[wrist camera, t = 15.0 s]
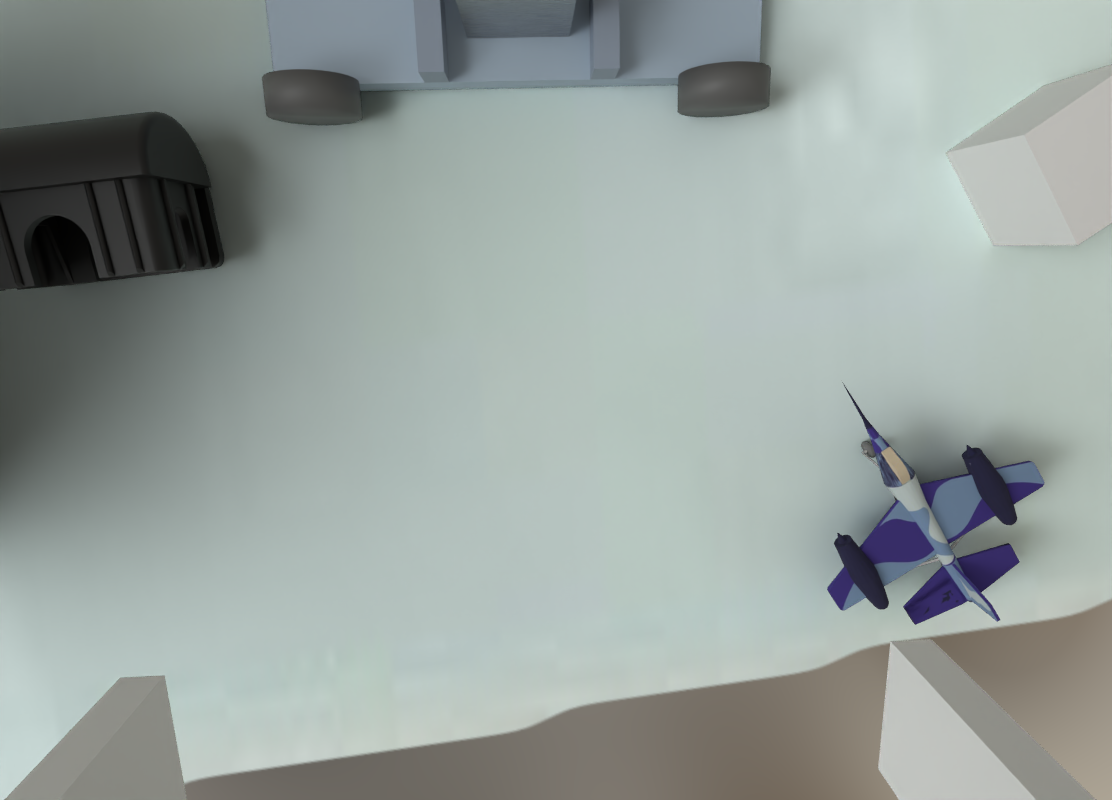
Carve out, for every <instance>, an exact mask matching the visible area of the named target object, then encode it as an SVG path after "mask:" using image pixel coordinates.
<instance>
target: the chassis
mask: <svg viewBox="0 0 1112 800" xmlns="http://www.w3.org/2000/svg"><path fill="white" fill-rule="evenodd" d="M266 9H267V17H268V26H269V35H270V44H271V53H272V62H273V72H269V73H267V74H265V75H263V77H262V81H263V89H264V98H265V107H266V115H267V116H268V117H269V118H271V119H274V120H278V121H282V122H288V123H296V124H308V125H339V124H348V123H354V122H357V121H360V120H361V119H362V109H361V97H360V91H387V90H439V89H491V88H543V87H595V86H647V85H678V113H680V114H682V115H686V116H694V117H722V116H733V115H740V114H747V113H752V112H756V111H759V110H762V109H765V108H767V107H768V106H769V97H770V73H771V68H770V66H768V65H766V64H763V63H760V43H761V17H762V0H576V4H575V9H574V14H573V20H572V25H571V30H570V35H569V37H520V38H467V37H466V33H465V30H464V26H463V23H462V20H461V16H460V13H459V10H458V6H457V3H456V0H266Z"/></svg>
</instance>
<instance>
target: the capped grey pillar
mask: <svg viewBox="0 0 1112 800" xmlns="http://www.w3.org/2000/svg"><path fill="white" fill-rule="evenodd" d="M456 3H457V6H458V10H459V13H460V16H461V20H462V23H463V26H464V30H465V33H466V37H467V38H520V37H569V35H570V30H571V25H572V20H573V14H574V9H575V4H576V0H456Z"/></svg>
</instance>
